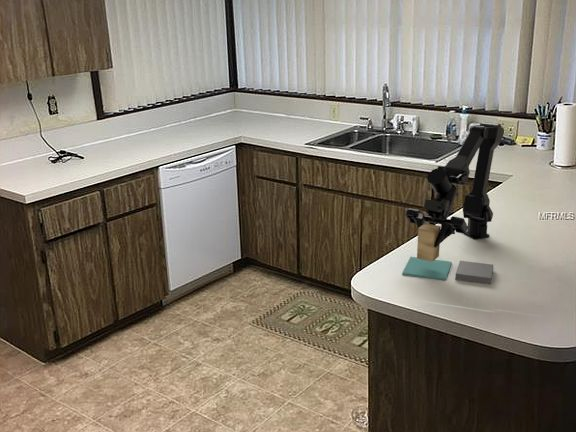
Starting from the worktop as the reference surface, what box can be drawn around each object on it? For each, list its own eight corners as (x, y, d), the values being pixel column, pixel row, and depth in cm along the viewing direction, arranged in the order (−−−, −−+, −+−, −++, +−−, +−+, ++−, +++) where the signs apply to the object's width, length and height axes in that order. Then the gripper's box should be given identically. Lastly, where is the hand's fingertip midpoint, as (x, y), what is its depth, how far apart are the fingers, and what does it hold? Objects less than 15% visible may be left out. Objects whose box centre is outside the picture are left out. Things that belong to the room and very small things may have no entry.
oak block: (423, 252, 198) (425, 223, 195) (438, 256, 196) (440, 226, 192) (416, 258, 195) (418, 228, 191) (432, 261, 192) (433, 231, 188)
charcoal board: (459, 266, 198) (459, 260, 197) (493, 270, 194) (493, 264, 193) (455, 279, 189) (455, 273, 188) (490, 284, 185) (490, 278, 185)
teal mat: (410, 258, 204) (410, 256, 204) (451, 263, 200) (451, 261, 200) (402, 274, 193) (402, 272, 193) (445, 280, 188) (445, 278, 188)
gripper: (408, 183, 196) (390, 227, 192) (466, 193, 186) (449, 239, 181) (418, 200, 205) (402, 243, 200) (474, 210, 194) (458, 255, 190)
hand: (426, 245), depth 193 cm, fingers closed on oak block, 5 cm apart
